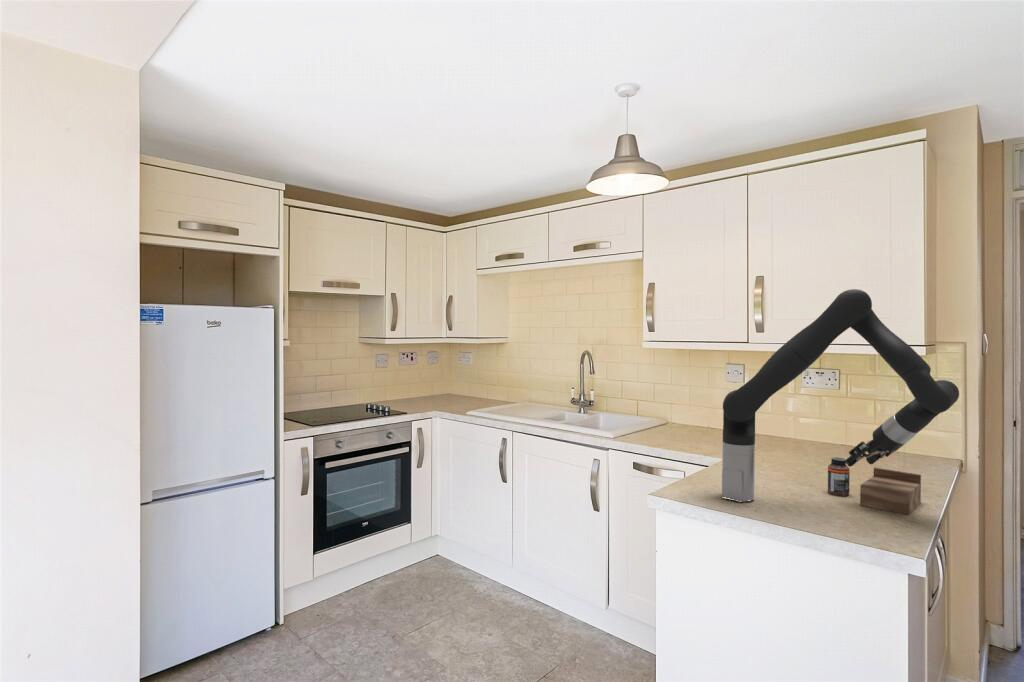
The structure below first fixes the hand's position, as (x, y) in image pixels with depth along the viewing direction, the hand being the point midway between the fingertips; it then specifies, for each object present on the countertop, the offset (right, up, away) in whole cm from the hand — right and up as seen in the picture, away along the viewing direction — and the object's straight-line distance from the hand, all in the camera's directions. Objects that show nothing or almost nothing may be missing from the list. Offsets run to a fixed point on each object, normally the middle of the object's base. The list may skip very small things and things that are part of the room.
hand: (858, 462), depth 169 cm
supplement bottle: (-2, -12, +7) cm, 13 cm away
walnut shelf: (+8, -12, -3) cm, 14 cm away
